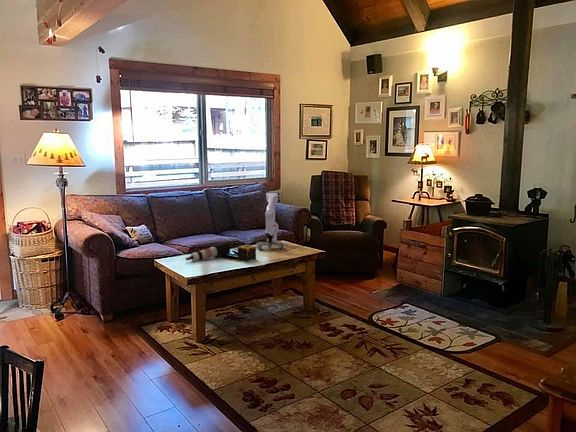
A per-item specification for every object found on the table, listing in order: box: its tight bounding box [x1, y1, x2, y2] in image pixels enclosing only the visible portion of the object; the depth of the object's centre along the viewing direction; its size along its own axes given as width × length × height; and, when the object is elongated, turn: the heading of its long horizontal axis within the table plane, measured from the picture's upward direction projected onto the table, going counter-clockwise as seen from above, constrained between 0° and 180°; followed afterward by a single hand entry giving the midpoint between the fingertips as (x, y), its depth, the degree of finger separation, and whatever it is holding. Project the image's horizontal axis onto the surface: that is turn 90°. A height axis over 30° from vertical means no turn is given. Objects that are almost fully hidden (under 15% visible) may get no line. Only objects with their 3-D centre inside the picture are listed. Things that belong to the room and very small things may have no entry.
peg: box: [266, 238, 273, 248], centre depth 390 cm, size 4×4×7 cm
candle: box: [237, 244, 257, 262], centre depth 354 cm, size 10×10×10 cm
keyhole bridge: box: [256, 240, 284, 252], centre depth 390 cm, size 10×20×5 cm, turn 106°
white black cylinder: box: [185, 241, 231, 262], centre depth 357 cm, size 10×34×10 cm, turn 128°
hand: (269, 242), depth 390 cm, fingers closed on peg, 4 cm apart
